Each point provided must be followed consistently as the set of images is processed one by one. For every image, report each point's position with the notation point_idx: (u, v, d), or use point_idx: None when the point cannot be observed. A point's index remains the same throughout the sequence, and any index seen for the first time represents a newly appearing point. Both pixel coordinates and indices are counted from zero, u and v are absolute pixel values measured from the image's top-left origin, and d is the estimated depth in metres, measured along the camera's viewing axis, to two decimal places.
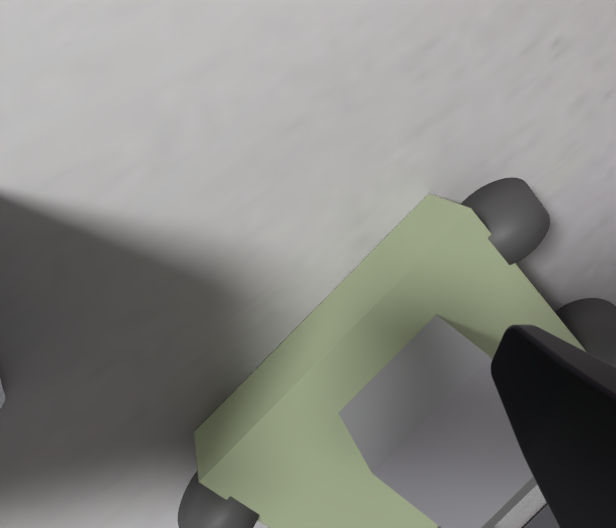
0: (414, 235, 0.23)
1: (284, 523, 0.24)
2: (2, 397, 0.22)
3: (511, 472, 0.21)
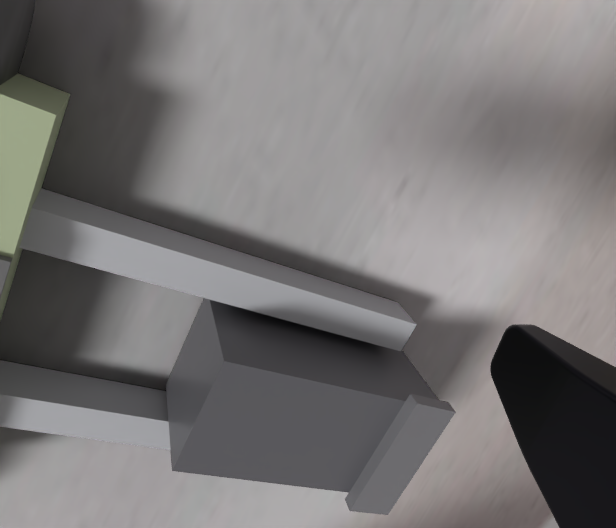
0: None
1: None
2: None
3: None
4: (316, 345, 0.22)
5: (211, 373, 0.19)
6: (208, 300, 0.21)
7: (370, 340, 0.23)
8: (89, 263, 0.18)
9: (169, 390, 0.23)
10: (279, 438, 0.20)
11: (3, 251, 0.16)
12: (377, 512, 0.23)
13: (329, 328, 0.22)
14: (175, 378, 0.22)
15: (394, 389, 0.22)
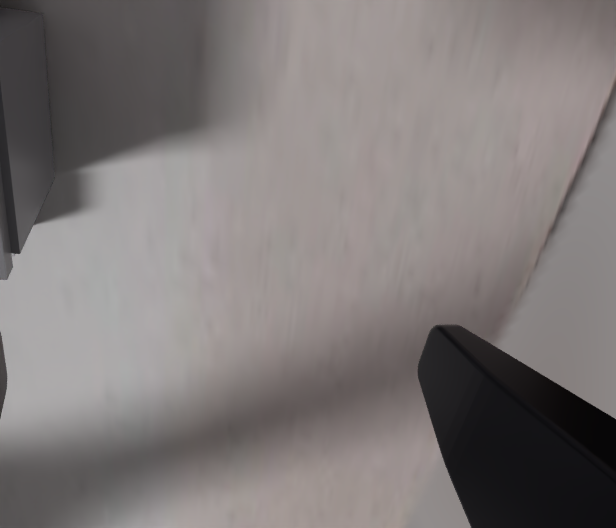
0: None
1: None
2: None
3: None
4: None
5: None
6: None
7: None
8: None
9: None
10: None
11: None
12: None
13: None
14: None
15: None
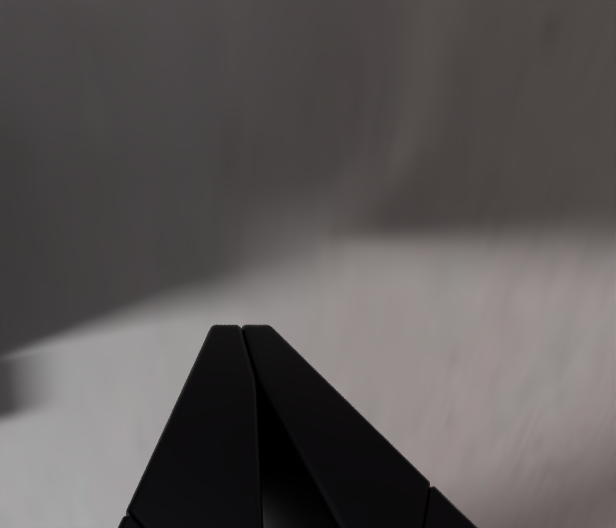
0: None
1: None
2: None
3: None
4: None
5: None
6: None
7: None
8: None
9: None
10: None
11: None
12: None
13: None
14: None
15: None
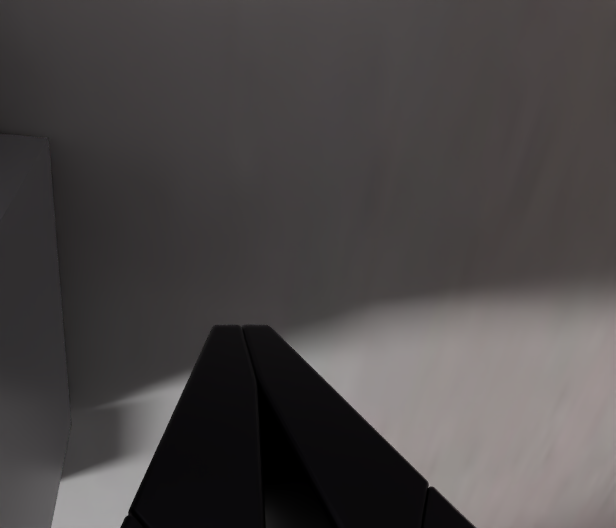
0: None
1: None
2: None
3: None
4: None
5: None
6: None
7: None
8: None
9: None
10: None
11: None
12: None
13: None
14: None
15: None
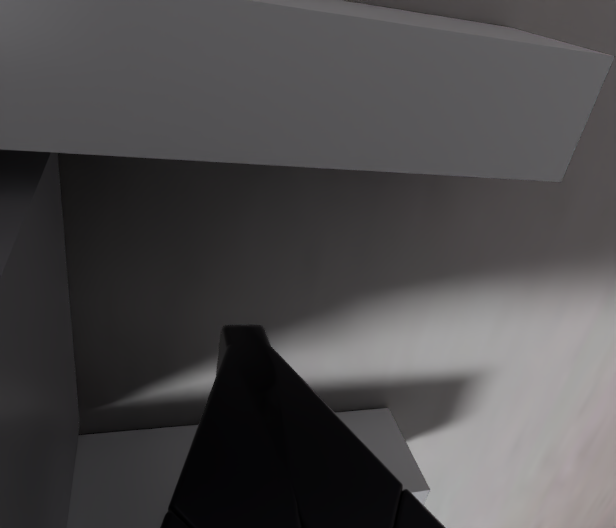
0: None
1: None
2: None
3: None
4: None
5: None
6: None
7: (437, 164, 0.06)
8: None
9: None
10: None
11: None
12: None
13: (247, 146, 0.05)
14: None
15: None
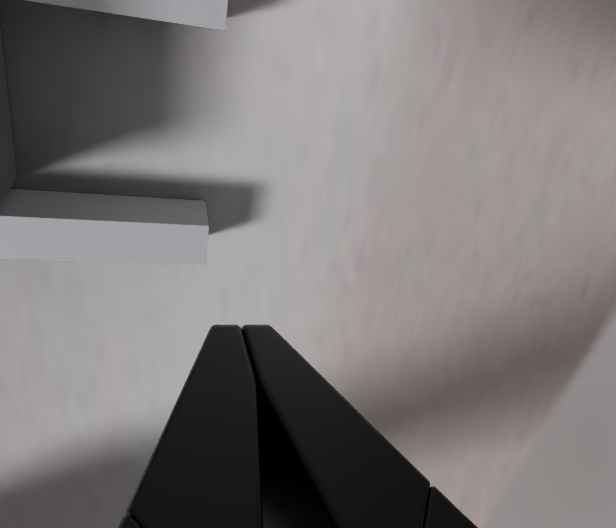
0: None
1: None
2: None
3: None
4: None
5: None
6: None
7: (157, 15, 0.14)
8: None
9: None
10: None
11: None
12: None
13: None
14: None
15: None
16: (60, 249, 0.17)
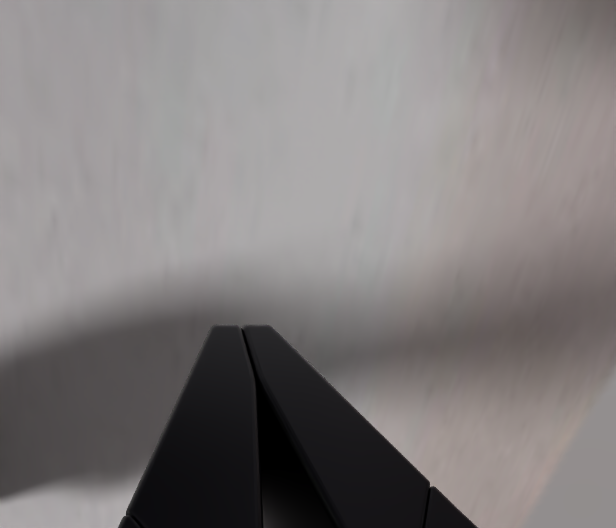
0: None
1: None
2: None
3: None
4: None
5: None
6: None
7: None
8: None
9: None
10: None
11: None
12: None
13: None
14: None
15: None
16: None
